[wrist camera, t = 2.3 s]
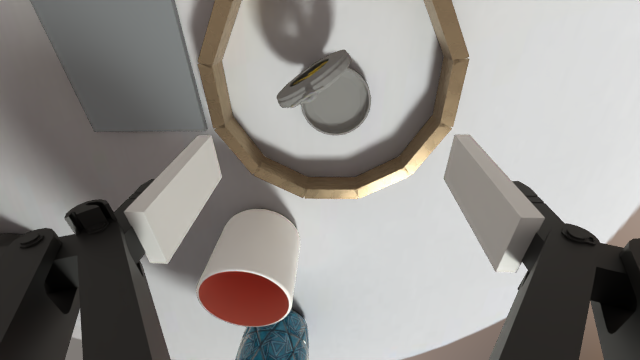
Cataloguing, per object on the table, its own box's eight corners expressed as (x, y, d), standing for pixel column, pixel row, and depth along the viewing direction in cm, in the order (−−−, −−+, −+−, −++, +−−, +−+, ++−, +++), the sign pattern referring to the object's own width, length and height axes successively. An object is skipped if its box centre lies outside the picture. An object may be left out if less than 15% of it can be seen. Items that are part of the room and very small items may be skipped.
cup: (218, 204, 36) (182, 269, 28) (297, 202, 35) (285, 268, 27) (235, 259, 41) (210, 327, 33) (304, 259, 41) (296, 328, 32)
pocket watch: (350, 141, 30) (355, 197, 22) (275, 108, 29) (250, 155, 20) (391, 66, 26) (418, 102, 18) (306, 23, 25) (291, 40, 16)
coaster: (98, 129, 31) (94, 131, 30) (35, -3, 24) (28, -3, 24) (207, 128, 30) (205, 131, 30) (172, -8, 24) (169, -7, 23)
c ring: (236, 185, 34) (230, 198, 32) (182, -58, 22) (166, -63, 20) (429, 186, 33) (435, 199, 31) (485, -70, 21) (501, -77, 19)
